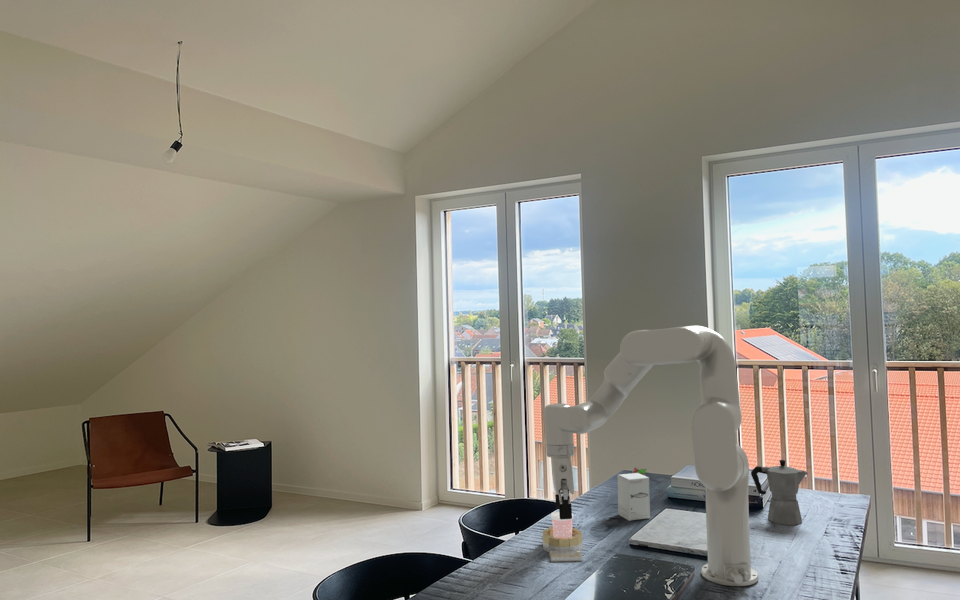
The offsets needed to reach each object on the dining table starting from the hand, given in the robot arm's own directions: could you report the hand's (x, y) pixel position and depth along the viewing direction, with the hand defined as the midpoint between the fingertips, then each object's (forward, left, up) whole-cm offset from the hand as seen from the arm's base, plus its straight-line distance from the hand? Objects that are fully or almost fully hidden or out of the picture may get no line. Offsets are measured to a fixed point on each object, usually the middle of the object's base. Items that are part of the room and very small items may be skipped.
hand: (563, 513), depth 178 cm
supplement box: (+26, -24, -10) cm, 37 cm away
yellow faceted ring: (+3, +1, -9) cm, 10 cm away
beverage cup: (0, 0, -9) cm, 9 cm away
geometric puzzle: (+62, -34, -10) cm, 72 cm away
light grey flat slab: (-2, +1, -9) cm, 9 cm away
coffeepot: (+19, -66, -9) cm, 70 cm away
